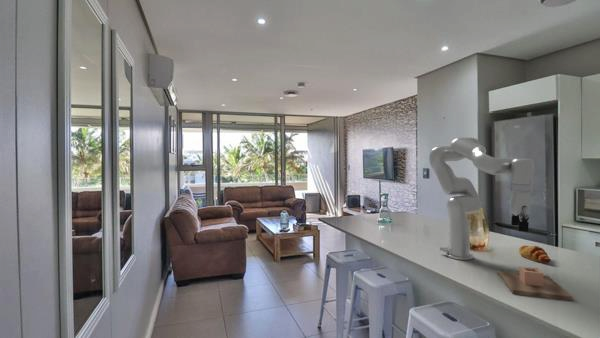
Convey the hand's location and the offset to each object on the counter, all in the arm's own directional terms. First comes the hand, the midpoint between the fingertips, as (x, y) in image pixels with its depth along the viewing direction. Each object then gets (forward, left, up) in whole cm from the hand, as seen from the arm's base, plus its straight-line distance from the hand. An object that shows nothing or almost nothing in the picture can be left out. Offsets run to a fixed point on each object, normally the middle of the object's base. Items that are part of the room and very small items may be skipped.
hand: (519, 228), depth 125 cm
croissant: (+16, +32, -22) cm, 42 cm away
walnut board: (+2, -8, -22) cm, 23 cm away
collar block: (+2, -8, -20) cm, 21 cm away
